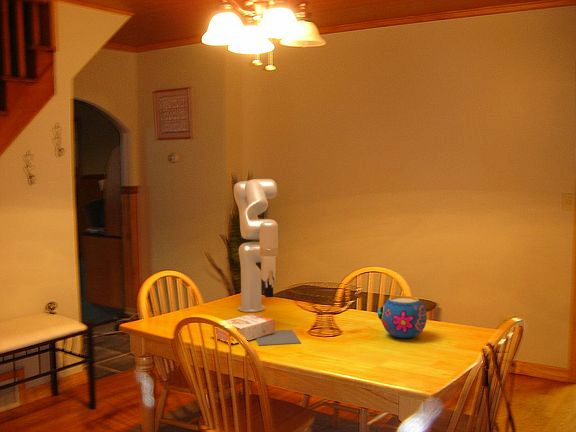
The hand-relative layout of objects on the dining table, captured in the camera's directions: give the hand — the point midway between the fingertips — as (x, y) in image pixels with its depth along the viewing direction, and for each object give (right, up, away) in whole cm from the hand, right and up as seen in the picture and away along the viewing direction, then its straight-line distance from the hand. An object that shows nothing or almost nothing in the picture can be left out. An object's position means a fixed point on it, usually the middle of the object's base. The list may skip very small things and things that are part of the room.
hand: (269, 296), depth 237 cm
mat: (+3, -15, -10) cm, 18 cm away
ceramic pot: (+53, -14, -9) cm, 56 cm away
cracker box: (-2, -10, -1) cm, 10 cm away
